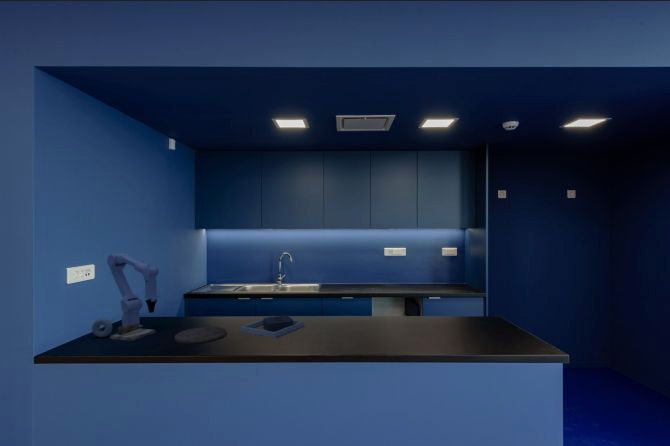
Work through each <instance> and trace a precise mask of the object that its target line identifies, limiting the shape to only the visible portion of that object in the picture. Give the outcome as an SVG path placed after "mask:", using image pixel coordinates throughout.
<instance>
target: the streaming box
mask: <svg viewBox="0 0 670 446" xmlns="http://www.w3.org/2000/svg"><path fill="white" fill-rule="evenodd" d="M262 320H263V325H262V326H263V330H265V331H271V332H276V331H279V330H281V329H284V328H287V327H289V326H292V325H293V320H294V319H293V318H292V317H290V316H289V315H277V316H270V317H264V318H263V319H262Z"/></svg>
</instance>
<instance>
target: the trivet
mask: <svg viewBox="0 0 670 446" xmlns="http://www.w3.org/2000/svg"><path fill="white" fill-rule="evenodd" d="M226 336H227V330H226V329H225V328H223V327H219V326H201V327H194V328H189V329H185V330H182V331H180V332H178V333H175V336H174V341H175V342H176V343H177V344H178V343H179V344H182V345H199V344H200V345H201V344H206V343H211V342H215V341H218V340H220V339H223V338H225V337H226Z"/></svg>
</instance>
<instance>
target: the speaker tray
mask: <svg viewBox="0 0 670 446" xmlns="http://www.w3.org/2000/svg"><path fill="white" fill-rule="evenodd" d="M304 323H305V322H304V321H300V320H294V319H293V325H292V326H289V327H287V328H284V329H281V330H279V331H276V332H271V331H266V330H265V329H259V328H258V327H261V326H263V319H259V320H258V321H255V322H251V323H248V324H245V325H243V326H240V332H241V333H246V334H250V335H251V334H252V335H258V336H261V337H262V336H263V337H268V338H274V339H275V338H279V337H281V336H283V335H286V334H288V333H290V332H292V331H295V330H297V329H300V328H304V325H305V324H304Z"/></svg>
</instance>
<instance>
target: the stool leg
mask: <svg viewBox="0 0 670 446" xmlns="http://www.w3.org/2000/svg"><path fill="white" fill-rule="evenodd" d="M139 324H140V322H139V323H133V324H130V325H127V326H124V327H123V326H122V325H120V326H118V327H117V333H118V335H123V334H125V333H128V332H131V331H134V330H137V329H140V327H139Z"/></svg>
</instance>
